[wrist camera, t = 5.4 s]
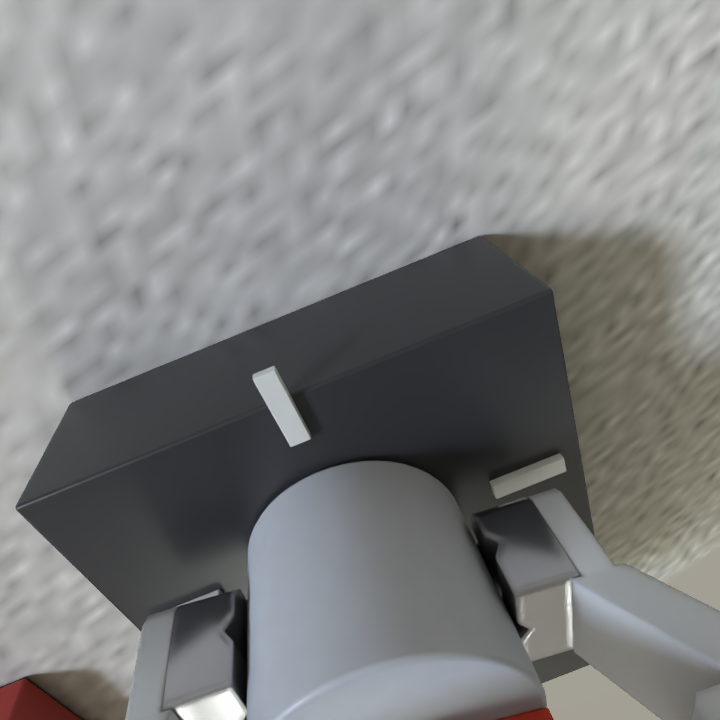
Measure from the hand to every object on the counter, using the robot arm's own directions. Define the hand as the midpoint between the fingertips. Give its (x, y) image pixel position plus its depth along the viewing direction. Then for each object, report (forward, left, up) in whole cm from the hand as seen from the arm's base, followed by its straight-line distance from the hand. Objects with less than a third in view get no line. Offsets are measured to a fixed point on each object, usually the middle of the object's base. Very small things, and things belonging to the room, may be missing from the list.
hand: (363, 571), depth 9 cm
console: (+2, 0, -4) cm, 4 cm away
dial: (0, 0, -1) cm, 1 cm away
